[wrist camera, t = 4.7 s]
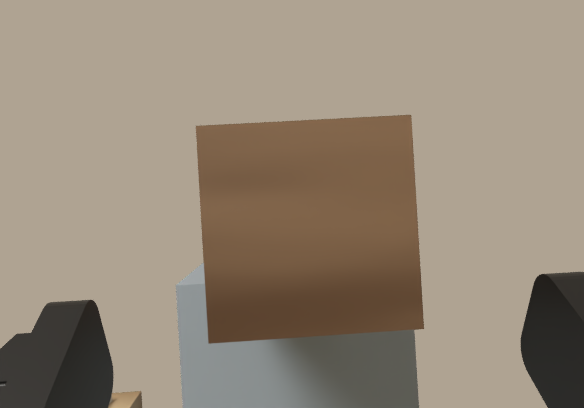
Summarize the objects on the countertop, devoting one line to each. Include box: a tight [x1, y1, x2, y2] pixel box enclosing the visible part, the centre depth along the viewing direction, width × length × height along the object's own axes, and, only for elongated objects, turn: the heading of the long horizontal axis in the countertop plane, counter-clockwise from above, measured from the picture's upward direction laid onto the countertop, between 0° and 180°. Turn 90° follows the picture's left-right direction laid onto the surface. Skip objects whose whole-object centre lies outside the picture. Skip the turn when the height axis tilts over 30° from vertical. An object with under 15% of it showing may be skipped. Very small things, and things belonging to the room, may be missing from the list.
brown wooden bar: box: [196, 115, 424, 344], centre depth 20 cm, size 20×4×4 cm, turn 2°
